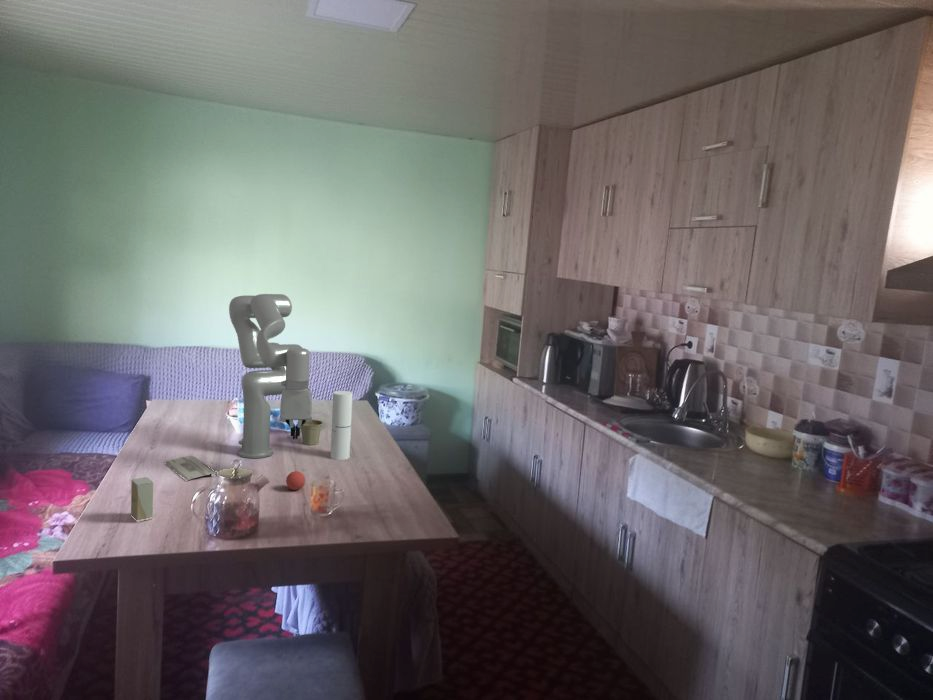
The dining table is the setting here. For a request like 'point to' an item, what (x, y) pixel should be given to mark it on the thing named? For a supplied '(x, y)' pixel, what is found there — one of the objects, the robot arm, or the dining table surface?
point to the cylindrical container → (341, 425)
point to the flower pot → (311, 432)
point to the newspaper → (190, 467)
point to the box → (141, 498)
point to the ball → (295, 480)
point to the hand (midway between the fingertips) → (295, 438)
